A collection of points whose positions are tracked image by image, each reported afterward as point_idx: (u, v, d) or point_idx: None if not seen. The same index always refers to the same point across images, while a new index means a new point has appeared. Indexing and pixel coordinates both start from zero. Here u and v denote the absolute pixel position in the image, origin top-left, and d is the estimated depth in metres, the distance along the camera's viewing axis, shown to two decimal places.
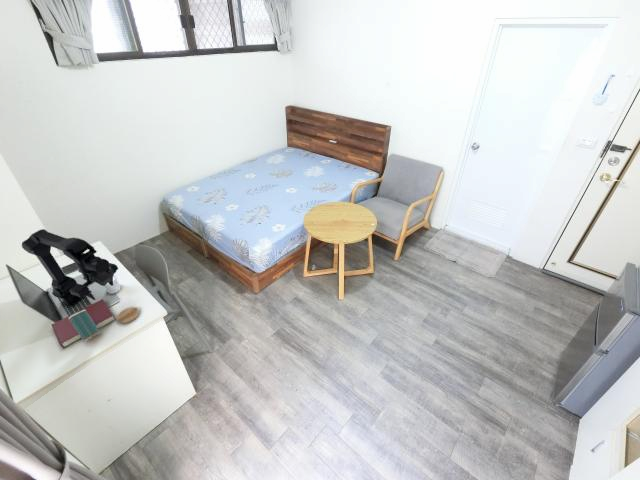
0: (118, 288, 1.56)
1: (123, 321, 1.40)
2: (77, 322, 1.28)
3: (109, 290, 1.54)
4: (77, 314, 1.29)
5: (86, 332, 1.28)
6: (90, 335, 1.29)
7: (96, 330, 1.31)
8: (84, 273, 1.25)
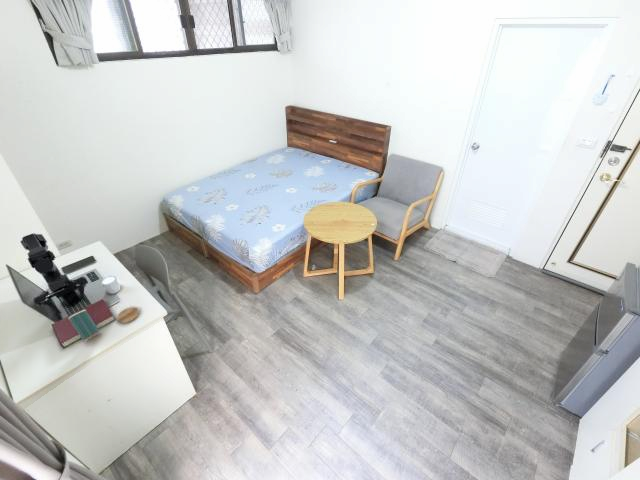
0: (118, 288, 1.56)
1: (123, 321, 1.40)
2: (77, 322, 1.28)
3: (109, 290, 1.54)
4: (77, 314, 1.29)
5: (86, 332, 1.28)
6: (90, 335, 1.29)
7: (96, 330, 1.31)
8: (47, 282, 1.28)
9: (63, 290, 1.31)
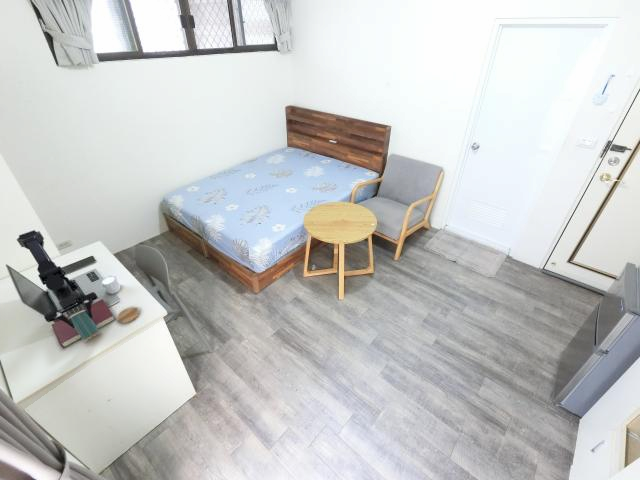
0: (118, 288, 1.56)
1: (123, 321, 1.40)
2: (77, 322, 1.28)
3: (109, 290, 1.54)
4: (77, 314, 1.29)
5: (86, 332, 1.29)
6: (90, 335, 1.29)
7: (96, 330, 1.31)
8: (57, 298, 1.29)
9: (73, 306, 1.31)
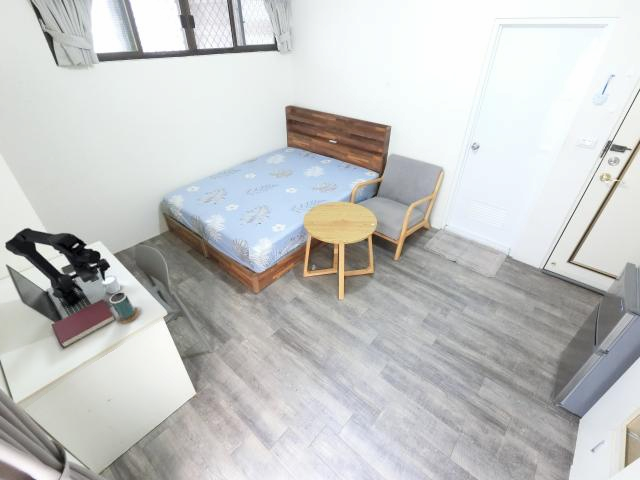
0: (118, 288, 1.56)
1: (123, 321, 1.40)
2: (120, 307, 1.36)
3: (109, 290, 1.54)
4: (121, 301, 1.35)
5: (127, 315, 1.40)
6: (130, 317, 1.41)
7: (134, 311, 1.43)
8: (72, 266, 1.31)
9: None
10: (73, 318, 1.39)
